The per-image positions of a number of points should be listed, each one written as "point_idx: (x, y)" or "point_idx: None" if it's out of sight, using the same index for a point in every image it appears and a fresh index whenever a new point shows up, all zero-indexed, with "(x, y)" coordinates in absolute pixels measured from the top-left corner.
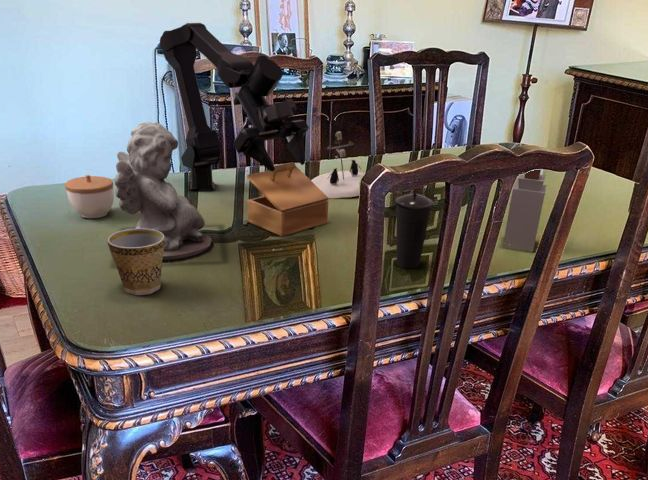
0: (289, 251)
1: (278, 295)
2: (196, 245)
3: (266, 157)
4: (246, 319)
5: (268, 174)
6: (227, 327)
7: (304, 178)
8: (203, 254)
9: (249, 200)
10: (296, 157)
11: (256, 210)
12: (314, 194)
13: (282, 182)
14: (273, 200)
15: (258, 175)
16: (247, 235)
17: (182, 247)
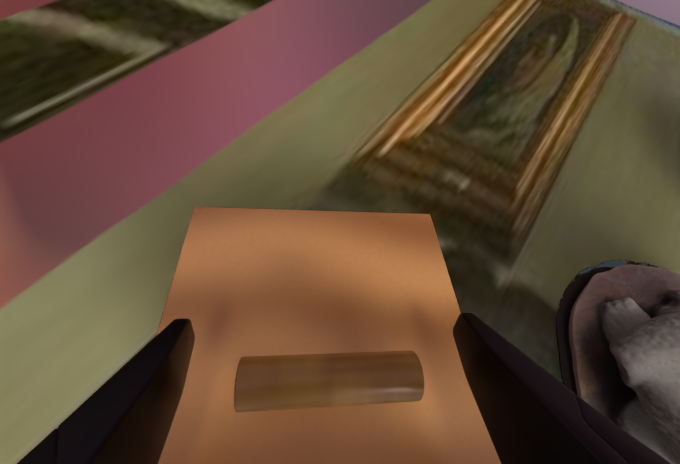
0: (440, 154)
1: (561, 39)
2: (621, 292)
3: (555, 382)
4: (632, 24)
5: (377, 449)
6: (661, 27)
7: None
8: (602, 264)
9: None
10: (163, 431)
11: None
12: (238, 238)
13: (335, 352)
14: (441, 260)
15: (446, 455)
16: (465, 300)
17: (653, 300)
